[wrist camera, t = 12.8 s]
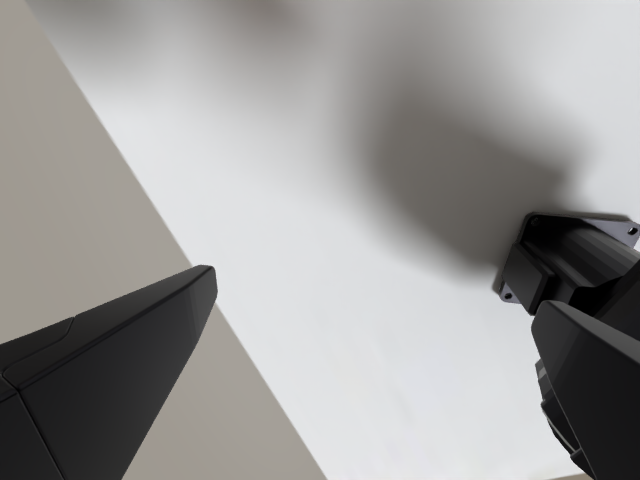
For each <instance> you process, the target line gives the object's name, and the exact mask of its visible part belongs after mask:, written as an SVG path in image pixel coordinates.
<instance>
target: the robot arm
mask: <svg viewBox="0 0 640 480" xmlns="http://www.w3.org/2000/svg"><path fill="white" fill-rule="evenodd" d="M535 218H537V221H536V222H535V223H532V224H531V222H532V220H533V219H535ZM631 228H633V229H632V230H631V231H630V232H628V230H629V229H631ZM639 236H640V224H638V223H636V222H633V221H624V220H613V219H603V218H592V217H582V216H571V215H560V214H550V213H539V212H532V213H530V214H528V215H527V216H526V217H525V219H524V222H523V225H522V227H521V230H520V233H519V236H518V239H517V242H516V243H515V244H513V245H512V248H511V251H510V254H509V257H508V260H507V262H506V265H505V268H504V271H503V274H502V278H503V281H502V284H501V287H500V290H499V294H498V295H499V297H500V298H501V300H502V301H504V302H509V303H517V304H522V306H523V307H524V308H525V310H526V311H527V312H528V314H529V315H530V316H535V318H534V320H533V322H532V326H531V332H532V335H533V338H534V341H535V344H536V346H537V349H538V352H539V355H540V357H541V359H540V360H539V361H538V362H537V363H536V364H535V367H536V371H537V376H538V383H539V386H540V390H541V394H542V399H543V401H542V402H541V407H542V411H543V413H544V414H545V416H546V418H547V420H548V423H549V425H550V427H551V429H552V431H553V434H554V435H555V437H556V438H557V439H558V440H559V441H560V443H561V444H562V446H563V447H564V448H565V449H566V450H567V451H568V452H569V454H570V458H571V460H572V461H573V462H574V463H575V464H576V465H577V466H578V467H579V468H581V469H582V470H583V471H584V472H585V473H586V474H588V475H589V476H590V477H591V478H592V479H594V480H640V252H638V251H636V250H635V249H633V248H634V246H635V244H636V242H637V240H638V238H639ZM217 292H218V290H217V281H216V272H215V269H214V267H213V266H208V265H198V266H195V267H193V268H190V269H188V270H185V271H183V272H181V273H178V274H176V275H173V276H171V277H168V278H166V279H163V280H161V281H158V282H156V283H154V284H151V285H149V286H146V287H144V288H141V289H139V290H136V291H134V292H132V293H129V294H127V295H124V296H122V297H119V298H117V299H114V300H112V301H110V302H107V303H104V304H102V305H100V306H97V307H95V308H92V309H90V310H88V311H85V312H82V313H80V314H78V315H76V316H75V318H74V317H71V318H68V319H65V320H63V321H60V322H58V323H55V324H53V325H50V326H48V327H45V328H43V329H40V330H38V331H35V332H33V333H30V334H27V335H25V336H22V337H19V338H17V339H14V340H11V341H8V342H6V343H3V344H0V480H121V479H122V478H123V476H124V474H125V472H126V470H127V469H128V467H129V465H130V463H131V462H132V460H133V458H134V456H135V454H136V453H137V451H138V449H139V447H140V445H141V444H142V442H143V440H144V438H145V436H146V435H147V433H148V431H149V429H150V427H151V426H152V424H153V422H154V420H155V418H156V417H157V415H158V413H159V411H160V409H161V408H162V406H163V404H164V402H165V400H166V399H167V397H168V395H169V393H170V392H171V390H172V388H173V386H174V384H175V383H176V381H177V379H178V377H179V375H180V373H181V372H182V370H183V368H184V367H185V365H186V363H187V361H188V359H189V358H190V356H191V354H192V352H193V350H194V349H195V346H196V344H197V343H198V341H199V338H200V336H201V334H202V331H203V329H204V327H205V324H206V322H207V319H208V317H209V315H210V312H211V310H212V307H213V305H214V303H215V300H216V298H217ZM507 293H510V294H509V295H508V296H505V294H507Z"/></svg>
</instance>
